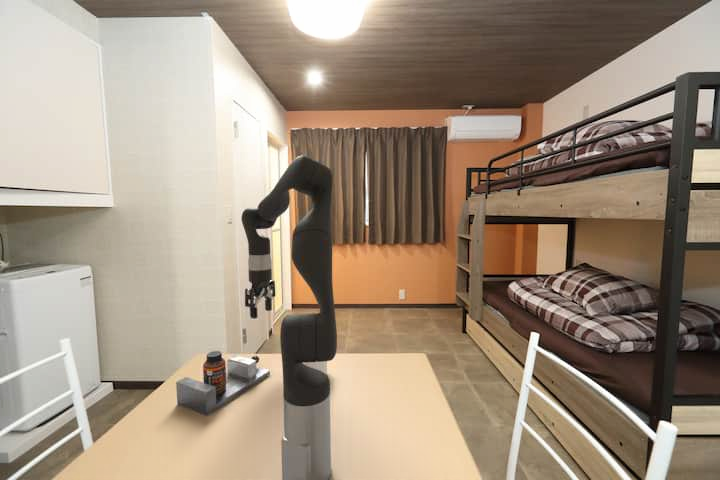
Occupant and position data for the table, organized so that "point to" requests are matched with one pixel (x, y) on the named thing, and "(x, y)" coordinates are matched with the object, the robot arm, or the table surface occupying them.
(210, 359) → the supplement bottle
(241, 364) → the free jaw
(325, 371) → the cylinder with rectangular tab
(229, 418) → the table surface
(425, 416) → the table surface
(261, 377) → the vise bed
